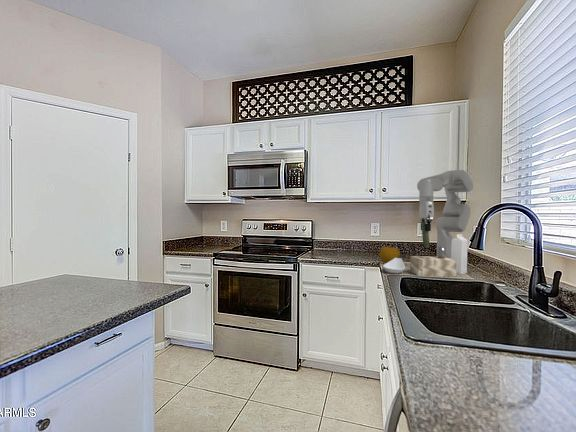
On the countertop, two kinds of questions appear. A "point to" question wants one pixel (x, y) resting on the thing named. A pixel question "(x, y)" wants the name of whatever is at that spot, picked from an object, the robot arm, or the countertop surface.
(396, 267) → the spoon rest
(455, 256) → the milk
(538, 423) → the countertop surface
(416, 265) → the beige woven basket
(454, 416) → the countertop surface
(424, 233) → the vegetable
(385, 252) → the apple
